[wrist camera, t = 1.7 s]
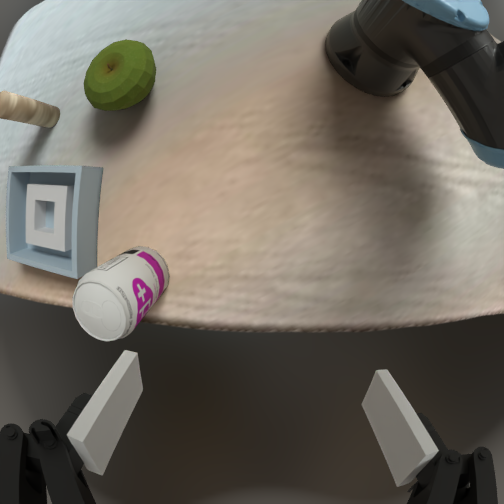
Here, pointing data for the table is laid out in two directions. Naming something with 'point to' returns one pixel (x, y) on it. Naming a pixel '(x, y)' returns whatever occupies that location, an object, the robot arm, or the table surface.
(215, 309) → the table surface
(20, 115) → the peg
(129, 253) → the supplement can
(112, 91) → the apple
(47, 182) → the crate
